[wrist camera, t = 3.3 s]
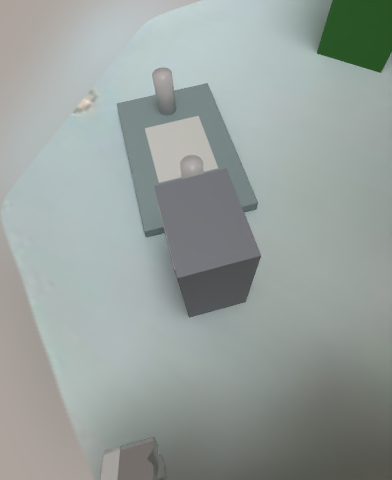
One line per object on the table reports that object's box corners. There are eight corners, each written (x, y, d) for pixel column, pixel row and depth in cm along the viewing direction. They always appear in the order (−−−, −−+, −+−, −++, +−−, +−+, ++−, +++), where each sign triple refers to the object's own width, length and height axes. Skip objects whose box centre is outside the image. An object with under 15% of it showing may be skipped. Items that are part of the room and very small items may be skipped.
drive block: (171, 249, 27) (153, 186, 19) (223, 235, 27) (227, 167, 19) (188, 317, 24) (176, 278, 16) (246, 301, 25) (261, 255, 16)
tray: (119, 111, 34) (105, 68, 30) (207, 91, 35) (206, 46, 31) (146, 237, 27) (133, 206, 23) (256, 209, 28) (264, 173, 24)
